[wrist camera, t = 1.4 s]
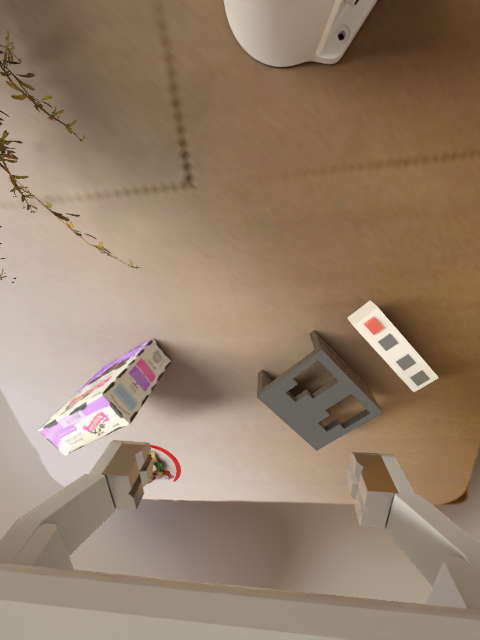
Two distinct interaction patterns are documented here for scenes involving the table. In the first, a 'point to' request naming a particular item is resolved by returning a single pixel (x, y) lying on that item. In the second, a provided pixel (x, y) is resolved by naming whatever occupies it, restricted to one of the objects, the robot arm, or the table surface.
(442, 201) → the table surface
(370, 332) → the power strip
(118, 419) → the candy box
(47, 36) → the table surface
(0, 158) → the dried plant
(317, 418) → the grey stepped cutout plate
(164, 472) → the hamburger
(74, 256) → the table surface
